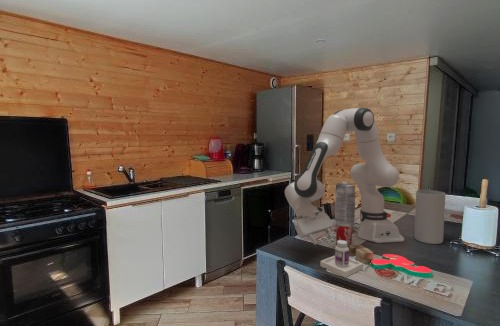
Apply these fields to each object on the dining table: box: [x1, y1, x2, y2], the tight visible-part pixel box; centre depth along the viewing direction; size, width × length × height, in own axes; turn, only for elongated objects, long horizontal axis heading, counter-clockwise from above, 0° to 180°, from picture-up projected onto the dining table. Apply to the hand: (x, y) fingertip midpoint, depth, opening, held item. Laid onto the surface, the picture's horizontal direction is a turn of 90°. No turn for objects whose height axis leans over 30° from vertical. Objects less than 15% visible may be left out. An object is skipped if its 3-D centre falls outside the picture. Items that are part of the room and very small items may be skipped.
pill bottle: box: [334, 240, 350, 267], centre depth 115 cm, size 5×5×10 cm
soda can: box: [335, 222, 353, 248], centre depth 134 cm, size 7×7×12 cm
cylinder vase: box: [413, 189, 446, 245], centre depth 144 cm, size 12×12×25 cm
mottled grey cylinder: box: [334, 181, 356, 230], centre depth 166 cm, size 9×10×27 cm
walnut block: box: [349, 244, 365, 257], centre depth 128 cm, size 6×4×4 cm, turn 80°
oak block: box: [355, 247, 374, 265], centre depth 120 cm, size 5×5×5 cm
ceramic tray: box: [319, 254, 364, 278], centre depth 115 cm, size 12×12×2 cm
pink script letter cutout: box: [370, 253, 433, 279], centre depth 114 cm, size 20×16×2 cm
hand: (323, 241), depth 122 cm, fingers open, 8 cm apart
